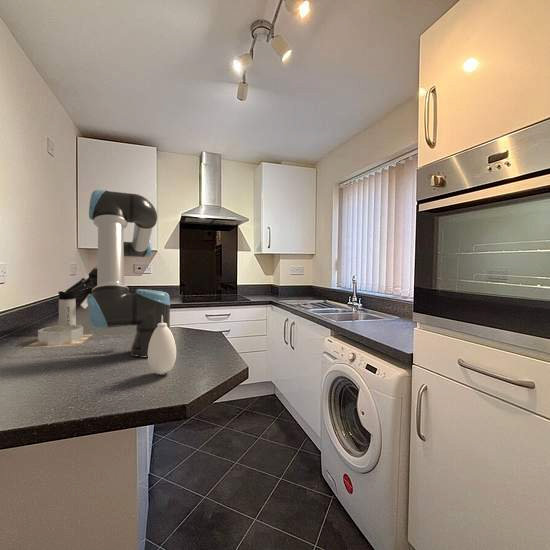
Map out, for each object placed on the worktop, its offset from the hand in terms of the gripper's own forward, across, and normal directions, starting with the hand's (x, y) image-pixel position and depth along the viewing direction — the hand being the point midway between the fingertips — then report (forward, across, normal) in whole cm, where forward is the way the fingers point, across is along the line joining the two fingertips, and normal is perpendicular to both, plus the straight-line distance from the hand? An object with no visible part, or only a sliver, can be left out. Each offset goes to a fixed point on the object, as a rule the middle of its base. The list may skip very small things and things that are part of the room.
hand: (71, 306), depth 136 cm
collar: (+18, -12, +1) cm, 21 cm away
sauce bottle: (+28, -73, +10) cm, 78 cm away
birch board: (+19, -12, 0) cm, 22 cm away
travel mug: (+11, -1, -7) cm, 13 cm away
